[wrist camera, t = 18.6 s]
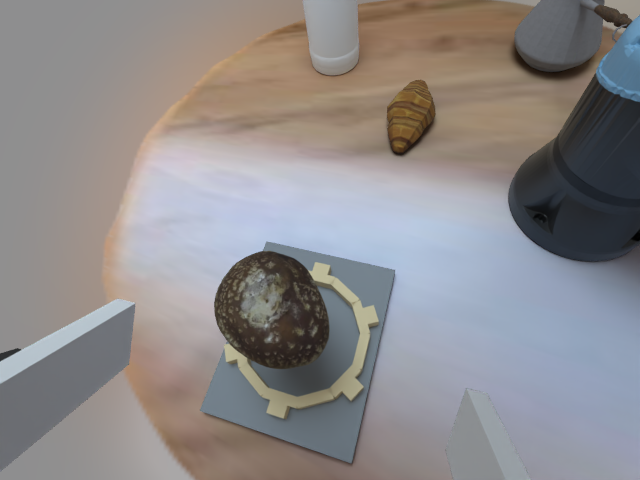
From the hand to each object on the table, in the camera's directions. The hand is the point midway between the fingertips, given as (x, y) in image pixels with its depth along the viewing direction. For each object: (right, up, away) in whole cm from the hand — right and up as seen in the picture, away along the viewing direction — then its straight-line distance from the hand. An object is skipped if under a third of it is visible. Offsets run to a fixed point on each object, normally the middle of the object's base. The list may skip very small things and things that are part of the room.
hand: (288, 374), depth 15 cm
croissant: (+14, +22, +41) cm, 49 cm away
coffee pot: (+35, +29, +41) cm, 62 cm away
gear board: (-1, -6, +28) cm, 28 cm away
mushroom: (-1, -6, +27) cm, 27 cm away
